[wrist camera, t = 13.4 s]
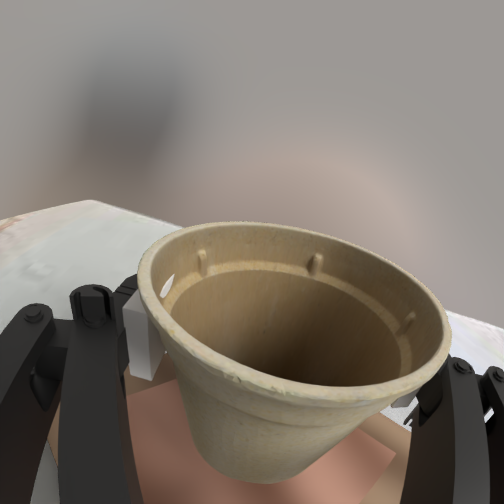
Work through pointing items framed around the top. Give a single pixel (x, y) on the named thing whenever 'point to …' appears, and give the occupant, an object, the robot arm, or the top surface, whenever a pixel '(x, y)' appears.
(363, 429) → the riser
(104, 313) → the robot arm
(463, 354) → the top surface
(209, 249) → the flower pot
